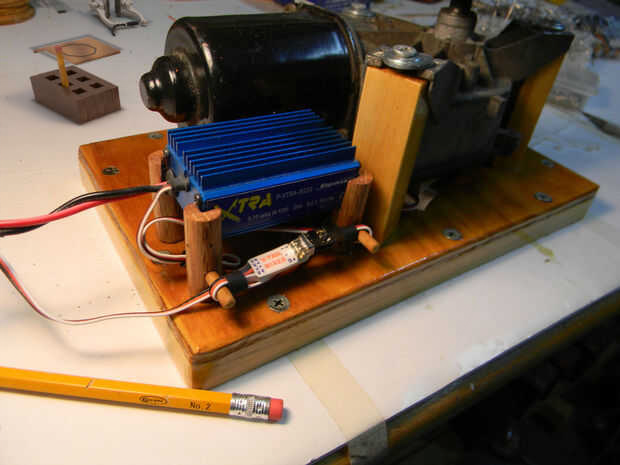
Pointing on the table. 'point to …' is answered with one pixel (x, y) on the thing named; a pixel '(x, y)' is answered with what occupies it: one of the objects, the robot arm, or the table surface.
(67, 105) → the stand
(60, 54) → the pencil
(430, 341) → the table surface
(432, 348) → the table surface
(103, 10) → the bike brake
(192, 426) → the table surface
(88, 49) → the pad
